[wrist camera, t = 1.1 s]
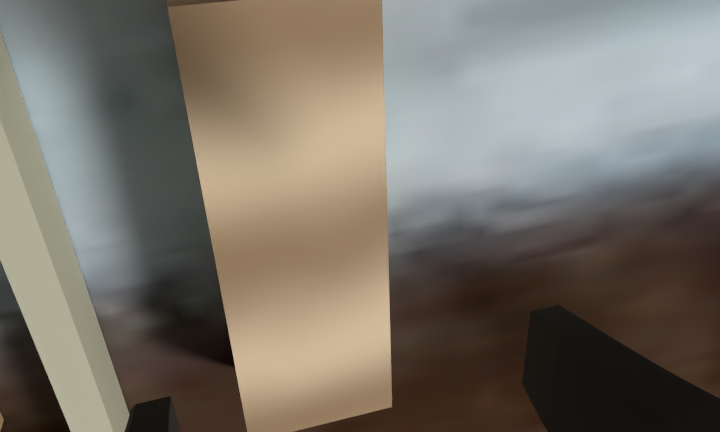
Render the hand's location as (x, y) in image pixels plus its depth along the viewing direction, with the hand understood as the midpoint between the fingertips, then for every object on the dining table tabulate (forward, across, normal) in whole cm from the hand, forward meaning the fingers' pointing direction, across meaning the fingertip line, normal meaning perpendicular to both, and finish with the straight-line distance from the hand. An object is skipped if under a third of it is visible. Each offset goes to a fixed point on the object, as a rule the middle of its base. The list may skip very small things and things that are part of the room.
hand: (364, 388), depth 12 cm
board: (+10, 0, +1) cm, 10 cm away
